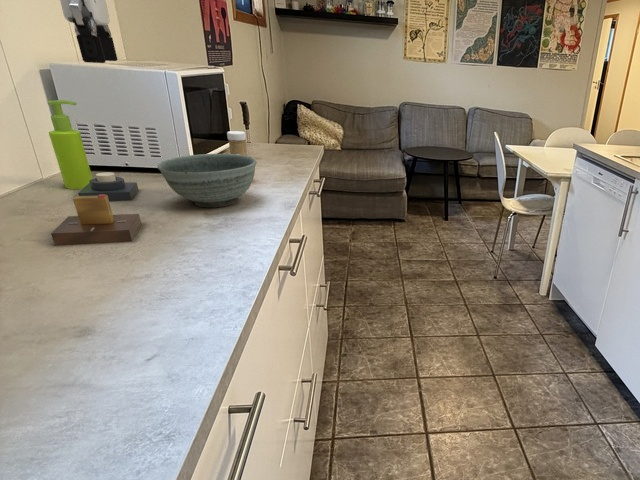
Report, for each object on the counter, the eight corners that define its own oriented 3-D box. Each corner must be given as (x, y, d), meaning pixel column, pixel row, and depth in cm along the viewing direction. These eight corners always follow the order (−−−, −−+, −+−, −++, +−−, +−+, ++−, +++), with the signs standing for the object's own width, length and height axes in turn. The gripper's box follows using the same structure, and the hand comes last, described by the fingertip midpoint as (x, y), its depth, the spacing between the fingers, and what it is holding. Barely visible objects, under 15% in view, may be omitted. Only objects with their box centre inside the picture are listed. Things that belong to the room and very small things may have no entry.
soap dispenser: (99, 188, 118) (76, 102, 109) (65, 190, 114) (37, 101, 105) (99, 182, 122) (76, 99, 113) (66, 184, 118) (39, 99, 109)
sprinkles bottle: (235, 184, 130) (228, 133, 123) (232, 180, 133) (225, 130, 127) (252, 183, 132) (246, 133, 126) (249, 179, 135) (243, 130, 129)
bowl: (261, 213, 109) (256, 170, 104) (158, 217, 102) (148, 171, 97) (261, 190, 126) (256, 152, 121) (172, 192, 119) (164, 151, 115)
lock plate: (55, 246, 85) (50, 232, 84) (71, 228, 93) (67, 215, 92) (132, 242, 89) (128, 229, 88) (141, 225, 97) (138, 212, 96)
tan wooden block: (80, 224, 88) (72, 197, 86) (83, 221, 90) (75, 194, 87) (112, 223, 90) (104, 196, 88) (114, 220, 92) (107, 194, 89)
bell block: (80, 202, 107) (75, 185, 105) (91, 192, 115) (86, 175, 113) (131, 201, 111) (127, 184, 109) (138, 191, 118) (135, 175, 116)
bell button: (96, 183, 109) (94, 175, 108) (100, 179, 112) (98, 172, 111) (114, 183, 110) (112, 175, 109) (117, 179, 113) (115, 172, 112)
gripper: (60, -50, 83) (89, 58, 91) (23, -68, 69) (61, 62, 77) (110, -44, 86) (134, 61, 94) (84, -61, 72) (115, 64, 80)
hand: (101, 61), depth 85 cm, fingers open, 9 cm apart
